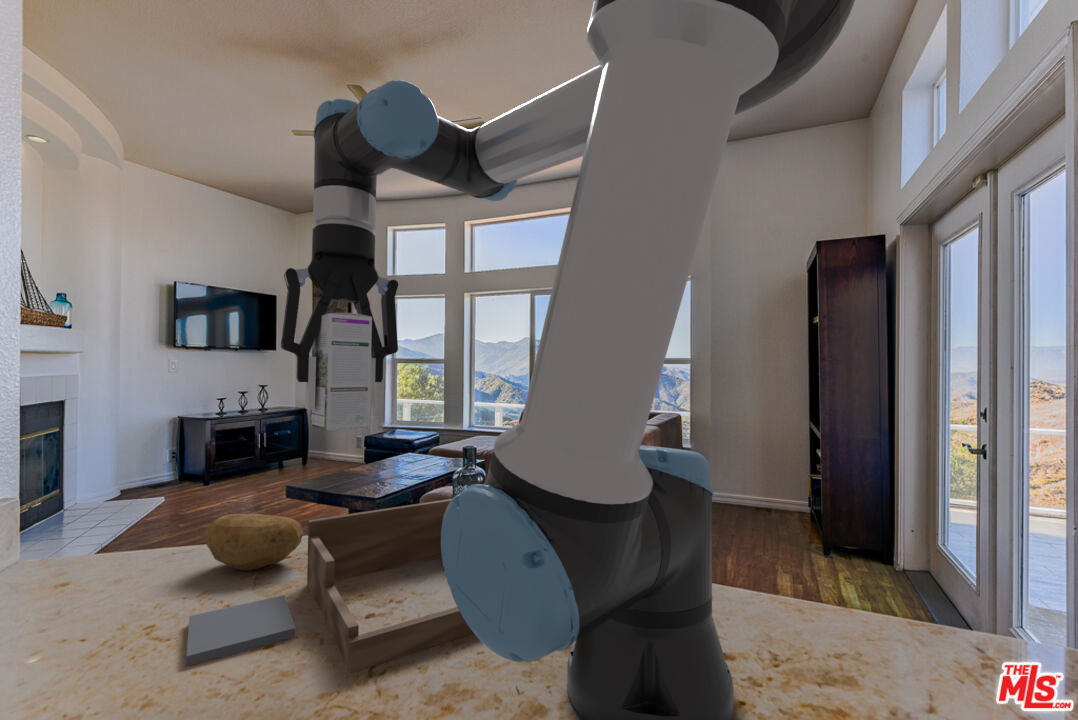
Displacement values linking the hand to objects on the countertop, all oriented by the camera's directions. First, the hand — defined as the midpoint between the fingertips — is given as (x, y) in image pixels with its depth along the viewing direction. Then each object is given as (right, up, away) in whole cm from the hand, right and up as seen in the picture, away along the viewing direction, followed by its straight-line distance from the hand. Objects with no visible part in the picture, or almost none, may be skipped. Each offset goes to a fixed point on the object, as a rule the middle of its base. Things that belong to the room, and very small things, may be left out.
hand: (340, 408), depth 62 cm
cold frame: (+10, -26, +3) cm, 28 cm away
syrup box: (0, -3, 0) cm, 3 cm away
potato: (-19, -26, +13) cm, 35 cm away
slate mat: (-9, -25, -6) cm, 27 cm away
